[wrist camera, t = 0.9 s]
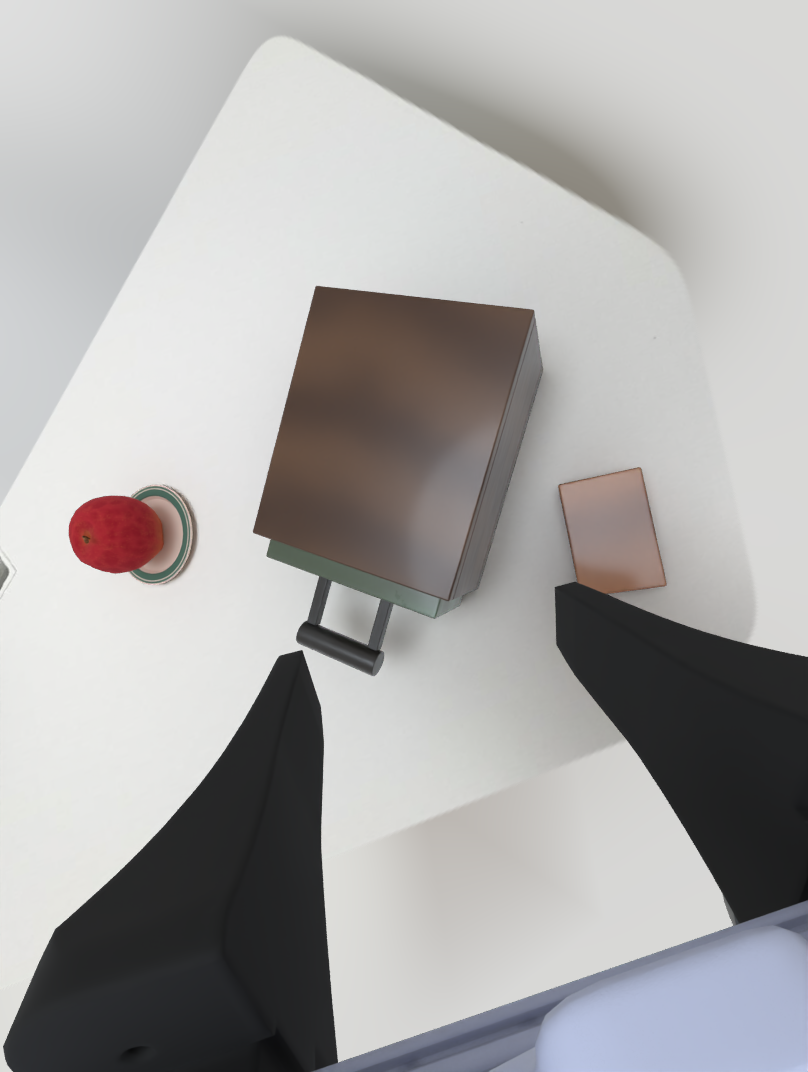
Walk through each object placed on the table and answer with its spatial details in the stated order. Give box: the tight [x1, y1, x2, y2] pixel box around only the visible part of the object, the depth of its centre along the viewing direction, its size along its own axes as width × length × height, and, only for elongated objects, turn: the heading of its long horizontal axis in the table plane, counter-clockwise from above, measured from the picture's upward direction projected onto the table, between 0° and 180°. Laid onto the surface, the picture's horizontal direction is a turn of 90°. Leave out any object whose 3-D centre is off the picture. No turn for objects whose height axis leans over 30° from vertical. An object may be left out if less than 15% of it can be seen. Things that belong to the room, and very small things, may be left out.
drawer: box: [267, 539, 463, 676], centre depth 26 cm, size 17×10×5 cm, turn 163°
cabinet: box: [253, 286, 543, 601], centre depth 26 cm, size 14×12×7 cm
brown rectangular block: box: [558, 467, 667, 594], centre depth 24 cm, size 6×4×2 cm, turn 10°
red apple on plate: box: [69, 485, 193, 585], centre depth 33 cm, size 8×8×6 cm
